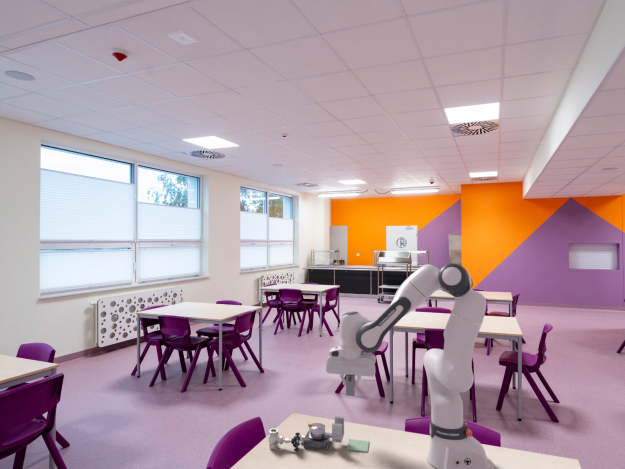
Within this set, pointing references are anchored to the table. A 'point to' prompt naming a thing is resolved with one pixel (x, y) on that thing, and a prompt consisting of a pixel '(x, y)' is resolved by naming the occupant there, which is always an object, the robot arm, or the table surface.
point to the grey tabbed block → (350, 385)
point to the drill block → (315, 442)
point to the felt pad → (358, 445)
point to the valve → (282, 440)
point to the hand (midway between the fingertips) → (350, 385)
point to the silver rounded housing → (319, 433)
